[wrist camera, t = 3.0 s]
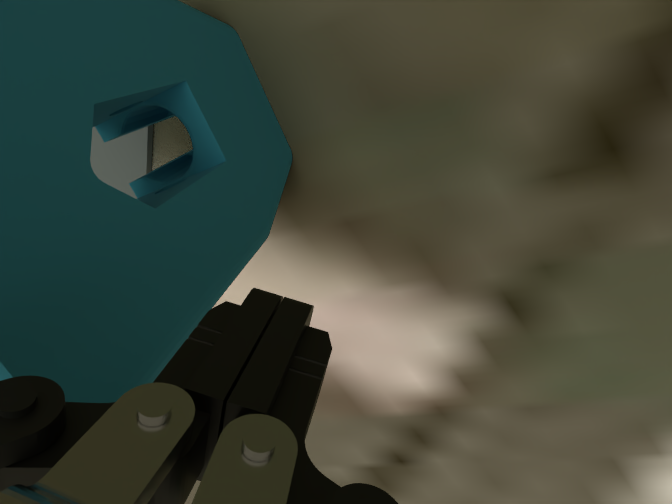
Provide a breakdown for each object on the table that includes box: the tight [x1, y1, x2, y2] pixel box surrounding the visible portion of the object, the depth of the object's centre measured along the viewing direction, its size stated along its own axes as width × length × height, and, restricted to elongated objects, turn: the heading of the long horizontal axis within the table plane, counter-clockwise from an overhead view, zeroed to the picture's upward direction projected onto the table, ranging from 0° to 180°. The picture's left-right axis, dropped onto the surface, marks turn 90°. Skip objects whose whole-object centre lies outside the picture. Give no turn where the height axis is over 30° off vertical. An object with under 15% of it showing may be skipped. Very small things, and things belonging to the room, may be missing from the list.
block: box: [0, 0, 293, 403], centre depth 19 cm, size 12×5×20 cm, turn 24°
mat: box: [90, 124, 153, 199], centre depth 28 cm, size 15×18×1 cm
